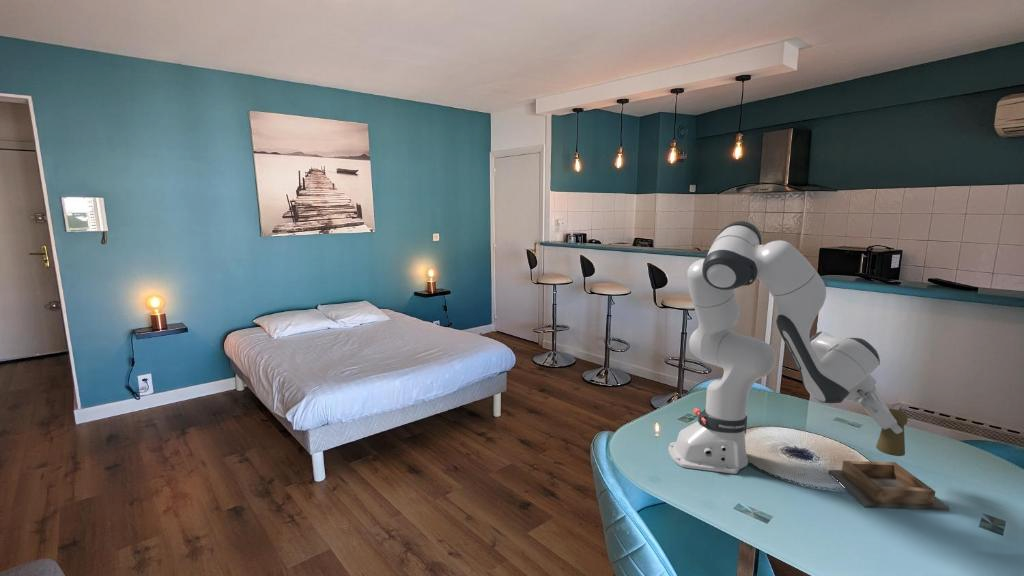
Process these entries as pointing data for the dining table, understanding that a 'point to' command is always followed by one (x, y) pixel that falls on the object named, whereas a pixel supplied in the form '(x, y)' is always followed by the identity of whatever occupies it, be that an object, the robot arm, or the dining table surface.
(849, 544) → the dining table surface
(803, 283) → the robot arm
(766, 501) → the dining table surface
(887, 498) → the collar
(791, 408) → the dining table surface
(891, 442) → the cork
